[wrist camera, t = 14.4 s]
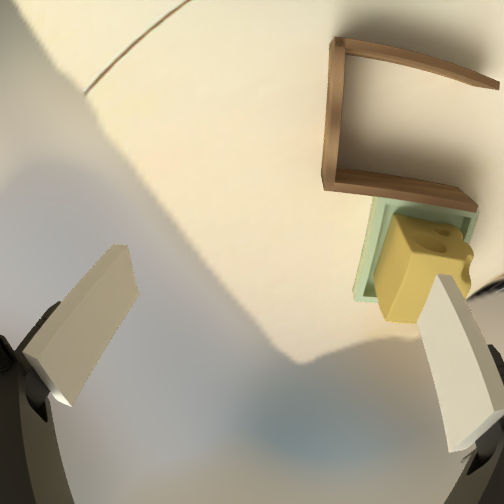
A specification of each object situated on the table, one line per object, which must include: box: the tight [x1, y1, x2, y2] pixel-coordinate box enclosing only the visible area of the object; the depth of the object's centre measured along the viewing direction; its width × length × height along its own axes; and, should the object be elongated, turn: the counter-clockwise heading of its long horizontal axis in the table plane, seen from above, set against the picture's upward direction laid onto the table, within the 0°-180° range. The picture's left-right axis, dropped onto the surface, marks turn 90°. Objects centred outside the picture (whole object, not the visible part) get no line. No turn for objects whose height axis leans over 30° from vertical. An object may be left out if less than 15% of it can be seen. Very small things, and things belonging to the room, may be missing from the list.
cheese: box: [373, 213, 474, 324], centre depth 34 cm, size 10×11×10 cm
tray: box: [353, 196, 479, 303], centre depth 38 cm, size 16×15×2 cm
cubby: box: [321, 37, 500, 213], centre depth 28 cm, size 16×19×6 cm
